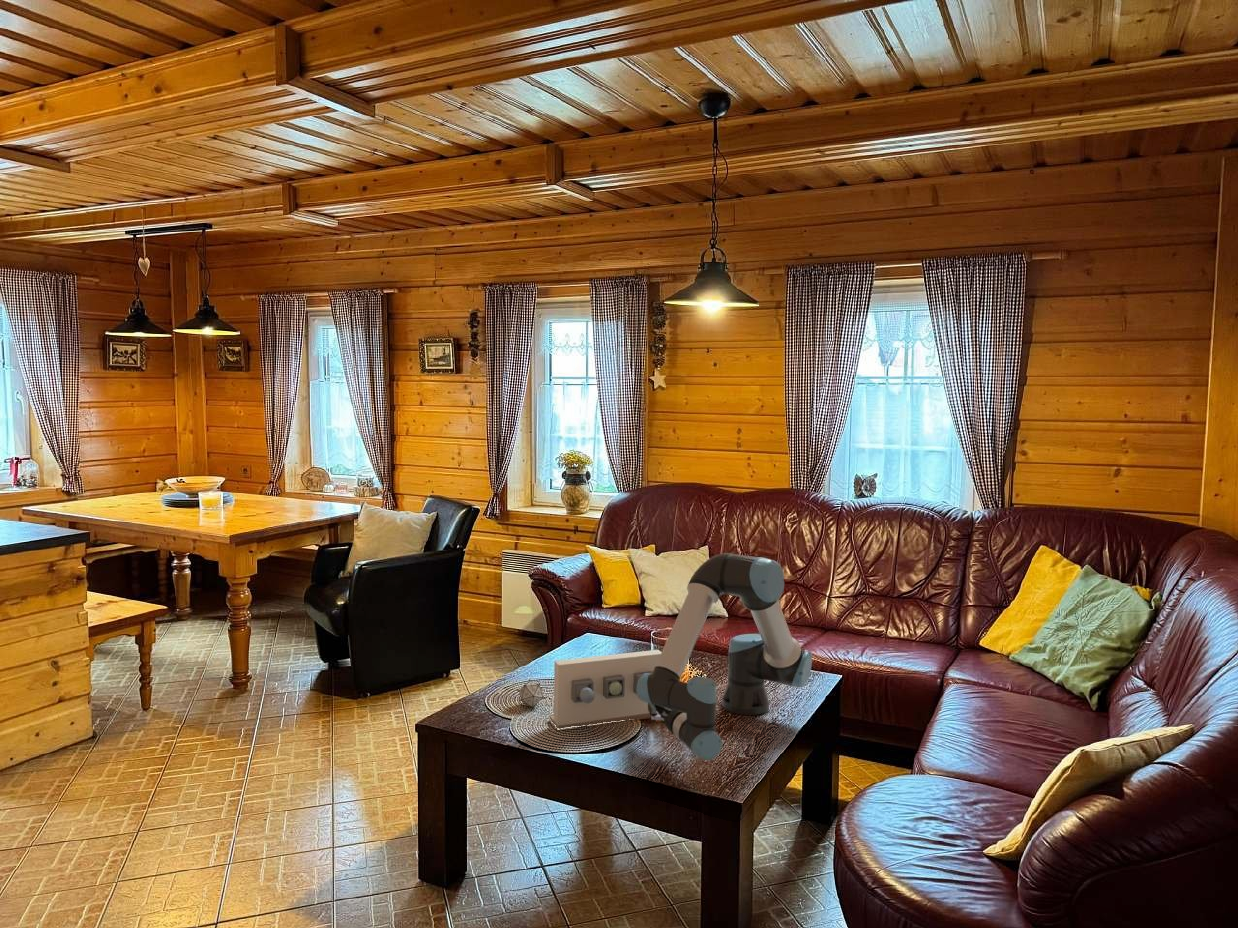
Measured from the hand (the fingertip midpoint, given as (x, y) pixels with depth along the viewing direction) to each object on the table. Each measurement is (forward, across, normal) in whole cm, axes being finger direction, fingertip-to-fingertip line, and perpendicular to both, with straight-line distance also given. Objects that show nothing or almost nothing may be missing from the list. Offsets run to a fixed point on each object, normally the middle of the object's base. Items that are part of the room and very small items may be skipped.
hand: (649, 694), depth 246 cm
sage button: (+8, -8, -2) cm, 11 cm away
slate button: (+4, -18, -2) cm, 19 cm away
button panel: (+12, -8, -12) cm, 18 cm away
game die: (+31, -27, -12) cm, 43 cm away
